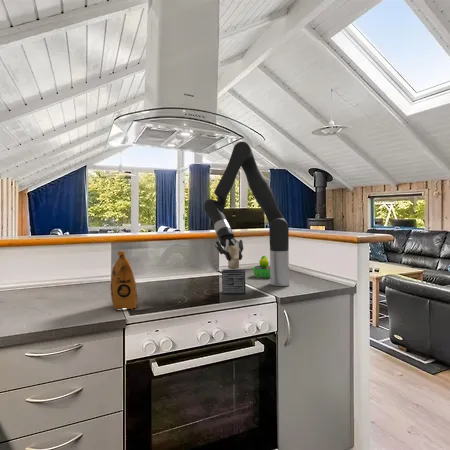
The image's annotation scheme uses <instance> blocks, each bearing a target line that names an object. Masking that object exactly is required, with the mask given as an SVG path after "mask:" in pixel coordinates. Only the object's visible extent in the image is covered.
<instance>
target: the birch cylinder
mask: <svg viewBox="0 0 450 450" xmlns="http://www.w3.org/2000/svg"><path fill="white" fill-rule="evenodd" d="M228 252H229V254H230V256H231V261H228V260H227V266H228V267H227V268H228V269H240V260H239V246H228Z"/></svg>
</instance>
